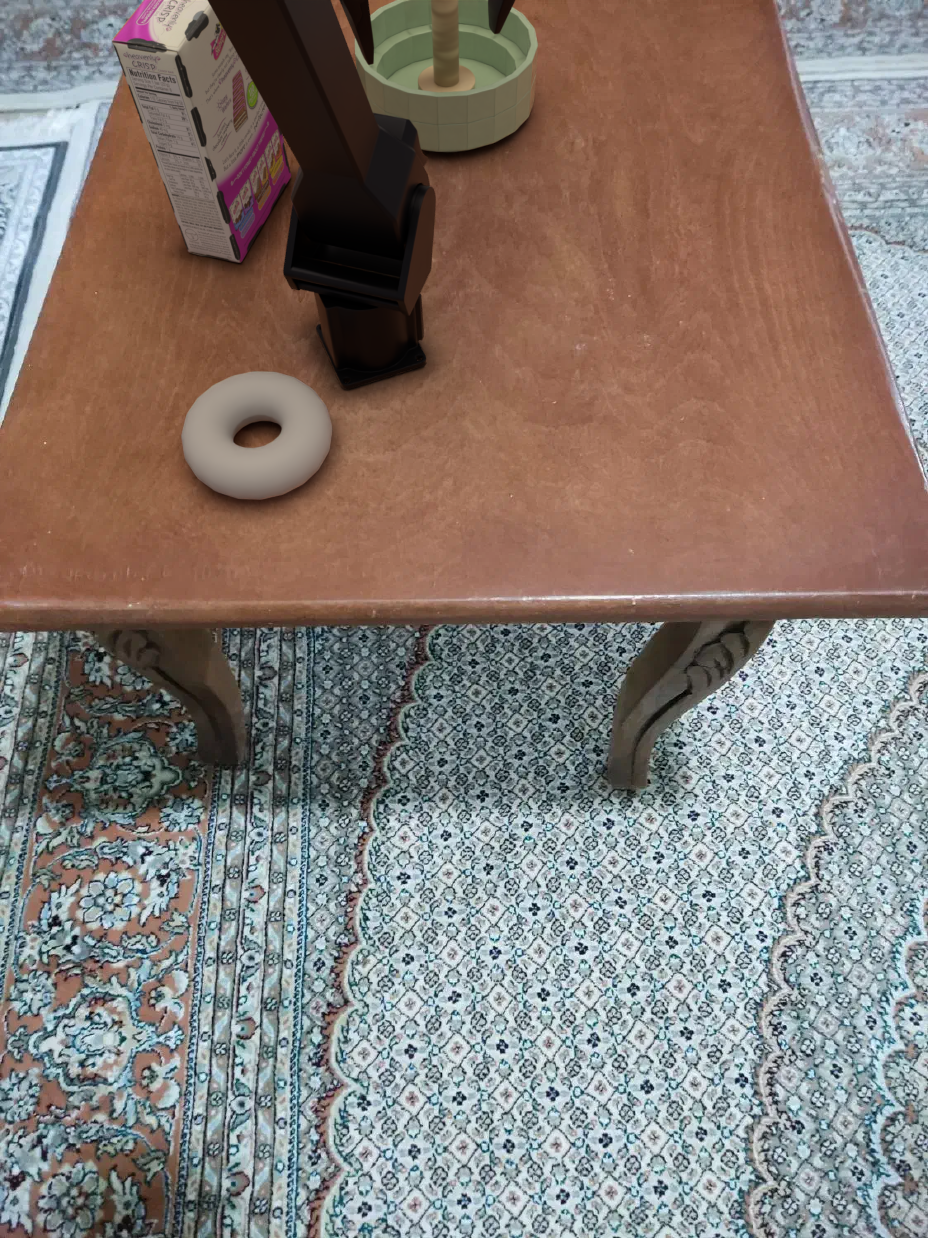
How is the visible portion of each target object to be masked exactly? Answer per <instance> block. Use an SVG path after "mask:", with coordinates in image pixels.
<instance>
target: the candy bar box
mask: <svg viewBox="0 0 928 1238" xmlns="http://www.w3.org/2000/svg"><path fill="white" fill-rule="evenodd" d="M111 43H112V46H113V48H114V50H115V54H116V56H117V59H118V62H119V65H120V68H121V70H122V72H123V75H124V79H125V81H126V84H127V86H128V90H129V92H130V96H131V98H132V100H133V103H134V106H135V109H136V111H137V114H138V117H139V121H140V123H141V127H142V128H143V131H144V134H145V136H146V139H147V140H146V141H147V143H148V144H149V146H150V150H151V152H152V157H153V158H154V160H155V164H156V167H157V170H158V174H159V176H160V179H161V180H162V184H163V186H164V189H165V192H166V195H167V197H168V200H169V203H170V205H171V208H172V209H171V210H172V212H173V214H174V218H175V221H176V222H177V225H178V229H179V231H180V234H181V236H182V239H183V242H184V245H185V247H186V250H187V253H190V254H193V255H197V256H199V257H206V258H207V257H208V258H213V259H218V260H223V261H227V262H233V263H239V264H241V263H242V262H243V261H244V260H245V257H246V256H247V254H248V252H249V251H250V249H251V247H252V245H253V243H254V242H255V240H256V238H257V237H258V235H259V233H260V231H261V229H262V227H263V226H264V224H265V222H266V221H267V219H268V217H269V215H270V213H271V212H272V210H273V208H274V206H275V205H276V203H277V201H278V199H280V196H281V194H282V193H283V191H284V190H285V187H286V186H287V184H288V182H290V179H291V177H292V172H291V169H290V164H289V159H288V155H287V154H288V153H287V150H286V145H285V139H284V136H283V135H282V133H281V131H280V129H279V127H278V126H277V124H276V122H275V120H274V118H273V117H272V115H271V113H270V111H269V110H268V108H267V106H266V104H265V102H264V101H263V99H262V97H261V95H260V93H259V92H258V90H257V88H256V86H255V84H254V83H253V81H252V79H251V77H250V75H249V74H248V72H247V70H246V68H245V67H244V65H243V63H242V61H241V59H240V58H239V56H238V54H237V52H236V50H235V49H234V47H233V45H232V43H231V41H230V40H229V38H228V36H227V34H226V33H225V31H224V29H223V27H222V25H221V24H220V22H219V20H218V18H217V16H216V15H215V13H214V11H213V9H212V7H211V6H210V4H209V2H208V0H142V1H141V3H140V4H139V6H138V7H137V8H135V10H134V11H133V13H132V14H131V15H130V17H129V18H128V19H127V20H126V21H125V23H124V24H123V25H122V26H121V28H120V29H119V31H118V32H117V33H116V34H115V35H114V36H113V38H112V39H111Z"/></svg>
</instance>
